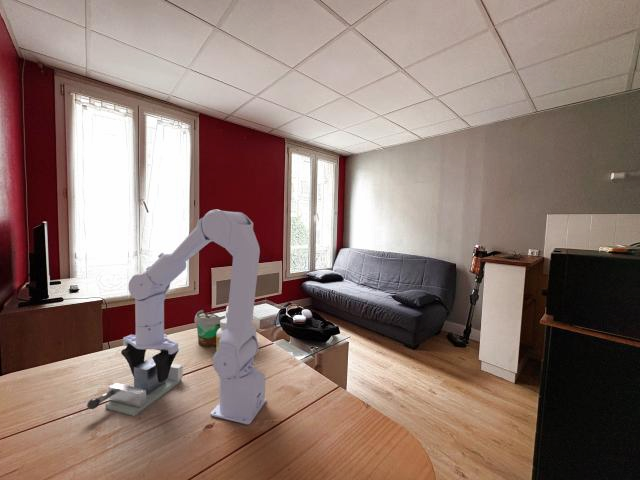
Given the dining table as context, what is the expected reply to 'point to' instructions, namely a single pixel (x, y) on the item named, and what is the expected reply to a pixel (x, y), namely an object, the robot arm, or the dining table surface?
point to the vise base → (171, 381)
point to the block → (146, 376)
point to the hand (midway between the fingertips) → (150, 377)
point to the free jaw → (121, 396)
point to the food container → (207, 328)
